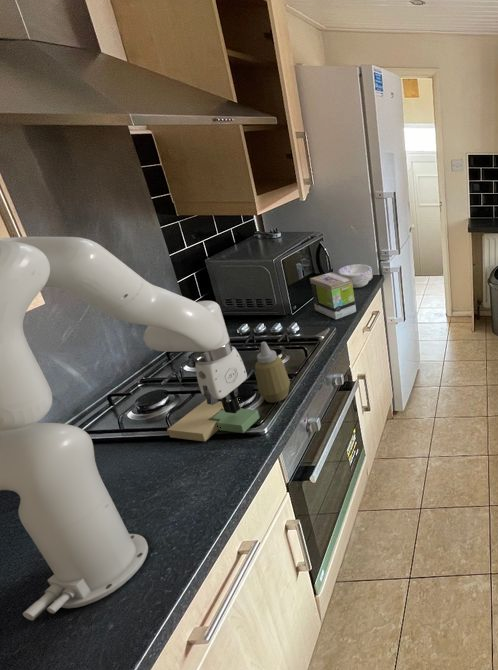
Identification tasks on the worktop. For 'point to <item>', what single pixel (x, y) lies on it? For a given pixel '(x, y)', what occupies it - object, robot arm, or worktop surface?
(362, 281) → the paper bowls
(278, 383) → the squeeze bottle
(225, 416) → the green pad
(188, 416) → the beige pad
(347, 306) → the tea box
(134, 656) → the worktop surface
